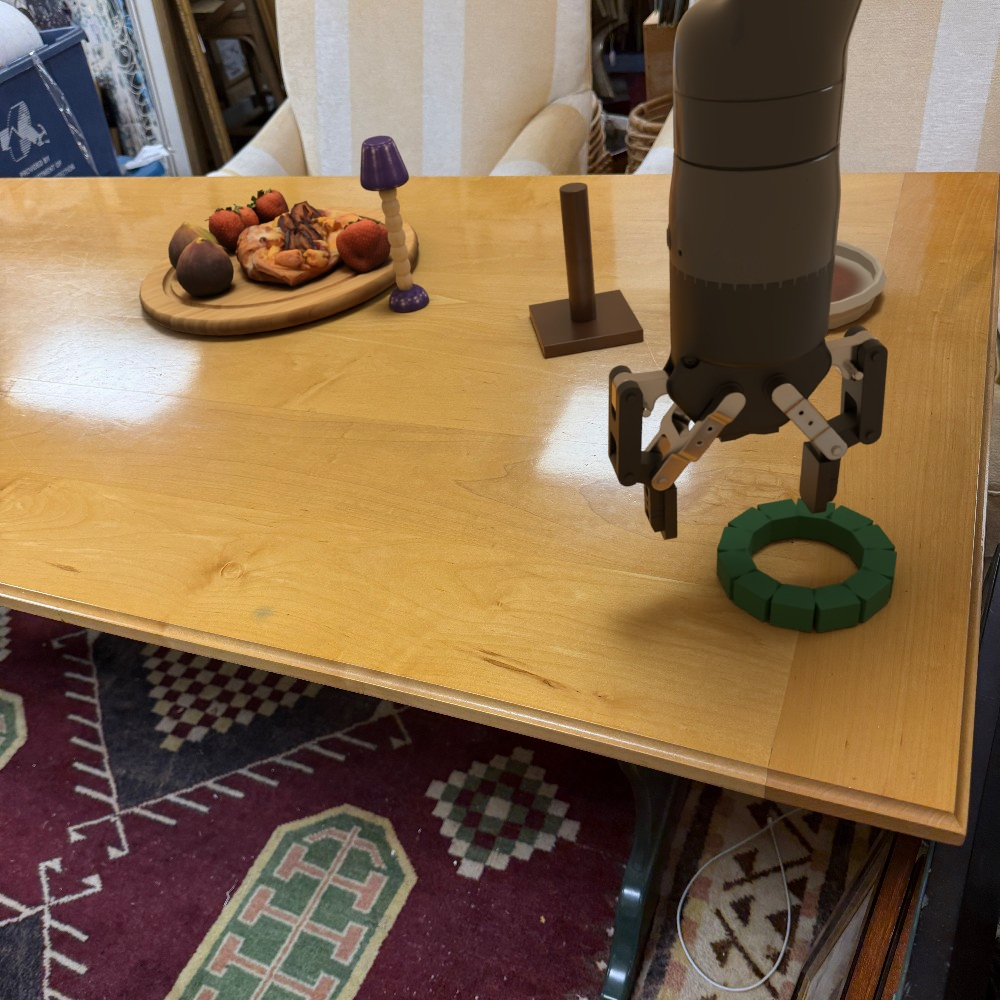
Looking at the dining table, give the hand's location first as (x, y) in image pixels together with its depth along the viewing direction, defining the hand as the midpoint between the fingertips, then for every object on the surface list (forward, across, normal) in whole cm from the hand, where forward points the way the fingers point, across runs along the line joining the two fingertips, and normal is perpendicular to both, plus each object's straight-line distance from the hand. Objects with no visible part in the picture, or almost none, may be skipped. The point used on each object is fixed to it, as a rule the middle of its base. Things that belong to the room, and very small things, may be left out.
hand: (739, 517), depth 52 cm
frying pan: (+5, +20, +41) cm, 46 cm away
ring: (+5, +4, 0) cm, 7 cm away
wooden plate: (+5, -32, +63) cm, 71 cm away
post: (+5, -2, +37) cm, 37 cm away
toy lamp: (+5, -18, +49) cm, 53 cm away
